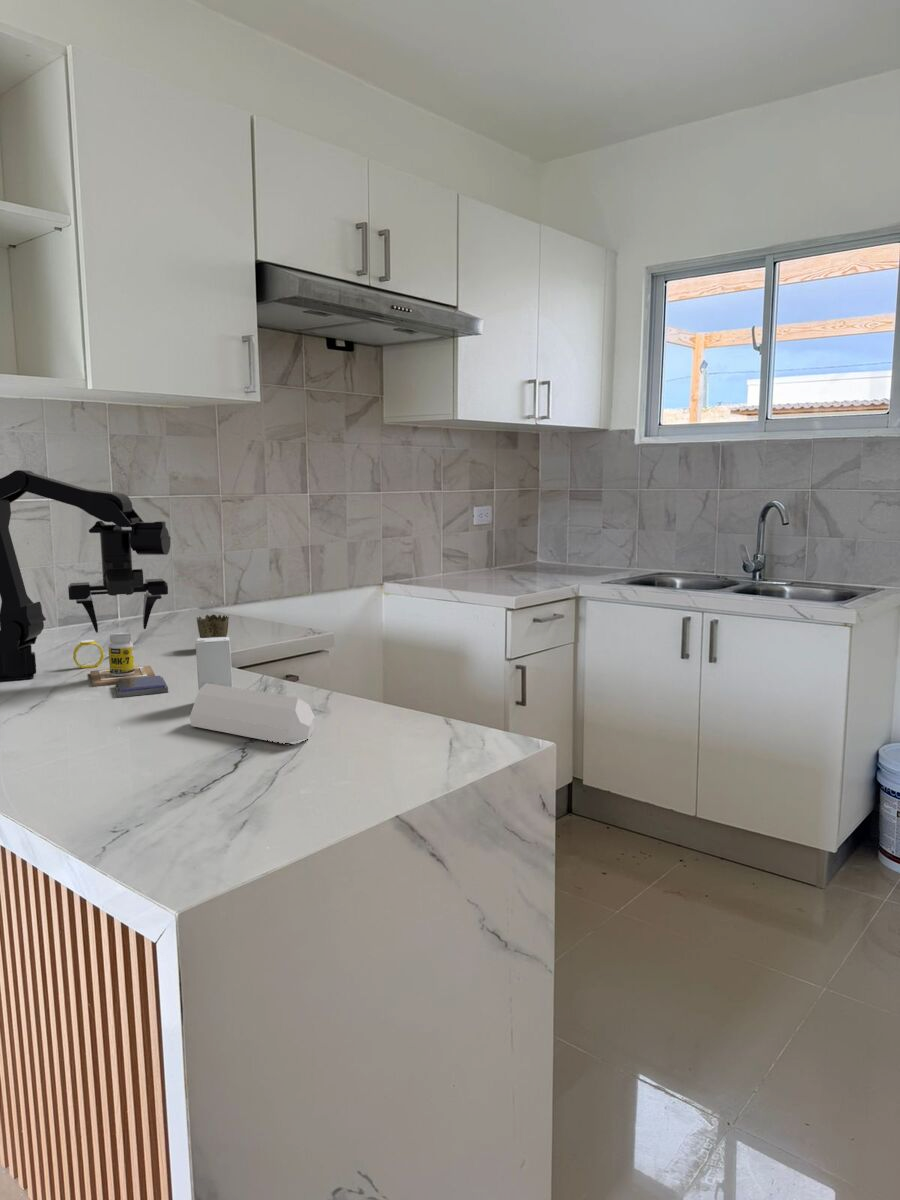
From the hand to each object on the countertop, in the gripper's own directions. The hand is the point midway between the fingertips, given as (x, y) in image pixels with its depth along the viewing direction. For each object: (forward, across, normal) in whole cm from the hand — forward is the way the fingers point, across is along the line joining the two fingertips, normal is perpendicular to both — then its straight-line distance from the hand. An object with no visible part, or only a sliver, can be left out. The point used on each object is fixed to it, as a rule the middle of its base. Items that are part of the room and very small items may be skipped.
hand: (121, 630), depth 172 cm
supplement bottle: (+9, 0, 0) cm, 9 cm away
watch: (+10, -6, +13) cm, 18 cm away
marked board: (+10, 0, 0) cm, 10 cm away
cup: (+10, +22, +21) cm, 32 cm away
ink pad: (+10, +2, -12) cm, 16 cm away
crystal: (+10, +16, -49) cm, 53 cm away
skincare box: (+10, +14, -29) cm, 34 cm away
